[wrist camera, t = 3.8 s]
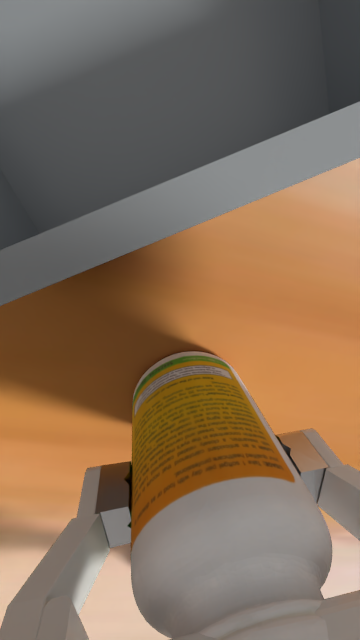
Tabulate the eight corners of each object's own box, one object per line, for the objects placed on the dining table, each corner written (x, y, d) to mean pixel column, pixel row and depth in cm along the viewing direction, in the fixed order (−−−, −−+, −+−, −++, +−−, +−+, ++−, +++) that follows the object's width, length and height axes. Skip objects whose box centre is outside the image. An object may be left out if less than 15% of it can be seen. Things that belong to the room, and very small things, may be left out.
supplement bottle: (108, 396, 12) (42, 853, 4) (197, 325, 12) (384, 684, 3) (178, 451, 15) (245, 823, 6) (258, 394, 14) (470, 721, 5)
